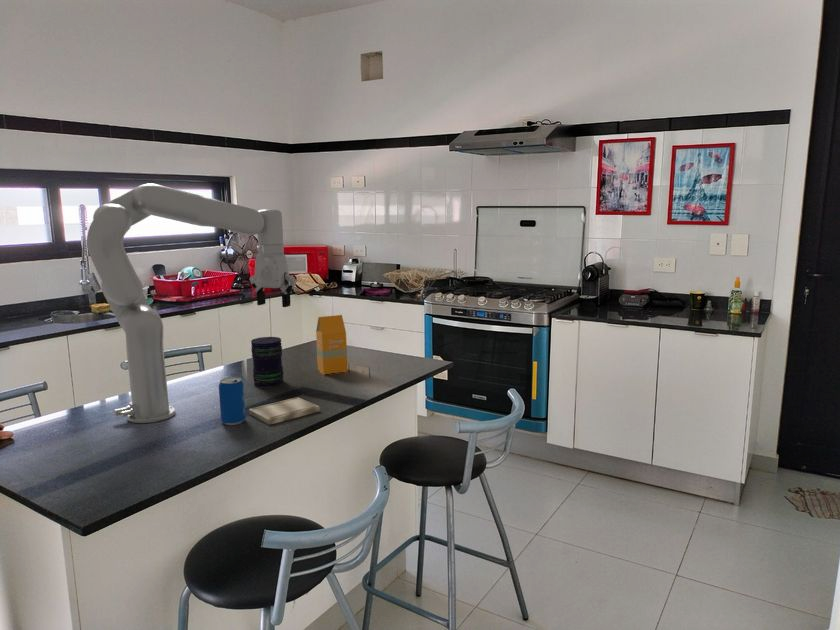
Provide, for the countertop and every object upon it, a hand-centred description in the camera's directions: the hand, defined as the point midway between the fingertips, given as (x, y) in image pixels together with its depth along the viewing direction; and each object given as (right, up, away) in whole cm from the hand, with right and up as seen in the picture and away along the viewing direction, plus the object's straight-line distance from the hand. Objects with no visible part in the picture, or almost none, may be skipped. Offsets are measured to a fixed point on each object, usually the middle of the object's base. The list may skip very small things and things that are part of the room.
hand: (273, 305), depth 193 cm
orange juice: (+14, -23, +29) cm, 40 cm away
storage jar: (-5, -26, +15) cm, 30 cm away
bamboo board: (+6, -31, -14) cm, 35 cm away
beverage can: (-6, -33, -21) cm, 39 cm away
